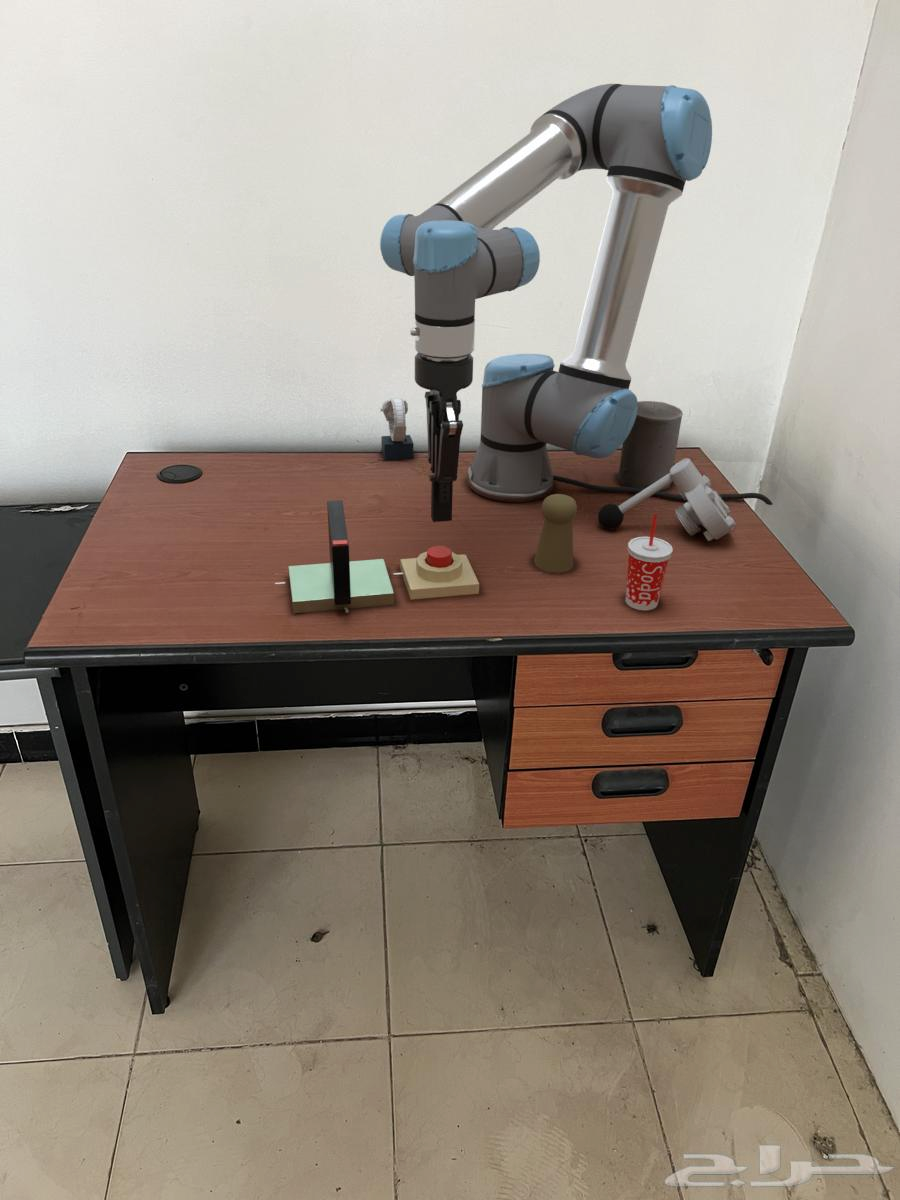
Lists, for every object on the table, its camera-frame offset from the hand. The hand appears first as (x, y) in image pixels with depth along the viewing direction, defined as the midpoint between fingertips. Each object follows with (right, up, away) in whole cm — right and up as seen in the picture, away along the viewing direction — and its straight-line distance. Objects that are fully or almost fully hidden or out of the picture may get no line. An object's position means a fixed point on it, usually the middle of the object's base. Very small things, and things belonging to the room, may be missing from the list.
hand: (441, 518), depth 126 cm
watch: (-9, +16, +46) cm, 49 cm away
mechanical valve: (+36, -1, +21) cm, 42 cm away
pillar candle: (+37, +10, +38) cm, 54 cm away
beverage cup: (+29, -12, +2) cm, 31 cm away
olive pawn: (+17, -6, +11) cm, 21 cm away
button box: (0, -9, +5) cm, 10 cm away
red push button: (0, -6, +3) cm, 7 cm away
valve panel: (-14, -10, +2) cm, 18 cm away
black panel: (-14, -8, +1) cm, 17 cm away
